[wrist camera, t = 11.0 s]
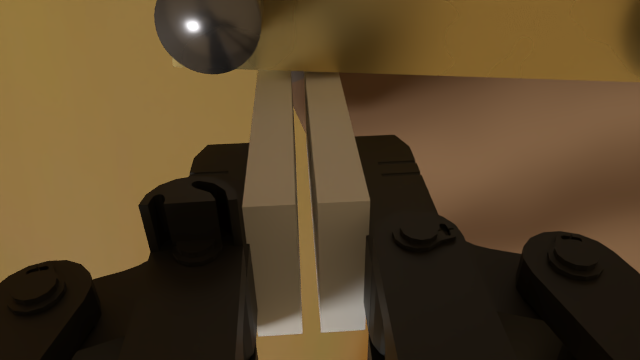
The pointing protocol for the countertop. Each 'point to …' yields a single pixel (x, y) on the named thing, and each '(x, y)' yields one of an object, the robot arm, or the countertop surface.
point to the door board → (512, 152)
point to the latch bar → (407, 37)
